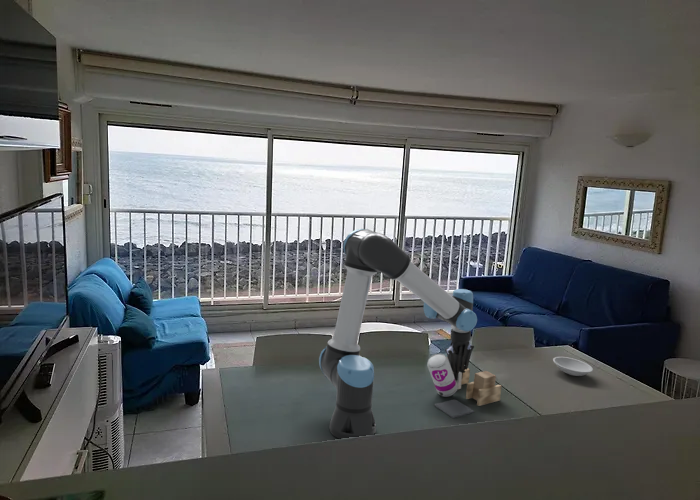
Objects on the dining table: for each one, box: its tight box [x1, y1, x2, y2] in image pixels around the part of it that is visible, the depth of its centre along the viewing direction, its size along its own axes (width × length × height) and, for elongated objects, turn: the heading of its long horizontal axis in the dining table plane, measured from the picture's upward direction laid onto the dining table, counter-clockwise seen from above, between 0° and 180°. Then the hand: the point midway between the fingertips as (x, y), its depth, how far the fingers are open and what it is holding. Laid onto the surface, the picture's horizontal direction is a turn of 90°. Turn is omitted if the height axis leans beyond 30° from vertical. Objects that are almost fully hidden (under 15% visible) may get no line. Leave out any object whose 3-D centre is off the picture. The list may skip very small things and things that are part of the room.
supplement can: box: [427, 353, 459, 397], centre depth 187 cm, size 8×8×15 cm
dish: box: [552, 356, 594, 377], centre depth 215 cm, size 18×14×5 cm
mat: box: [433, 399, 475, 419], centre depth 178 cm, size 10×10×1 cm
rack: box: [461, 367, 502, 407], centre depth 194 cm, size 11×24×10 cm, turn 30°
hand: (457, 387), depth 191 cm, fingers closed
